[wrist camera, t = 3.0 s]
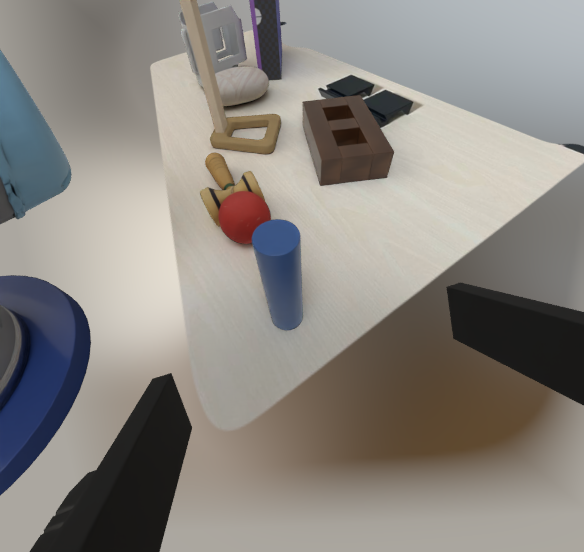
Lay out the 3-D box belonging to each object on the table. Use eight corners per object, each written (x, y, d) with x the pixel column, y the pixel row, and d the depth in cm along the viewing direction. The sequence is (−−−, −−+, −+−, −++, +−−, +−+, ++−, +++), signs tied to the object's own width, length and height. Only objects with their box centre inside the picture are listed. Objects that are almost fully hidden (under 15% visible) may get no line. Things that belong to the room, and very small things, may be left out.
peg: (273, 332, 27) (252, 258, 17) (270, 304, 28) (250, 222, 18) (305, 328, 27) (303, 252, 17) (300, 299, 28) (296, 216, 18)
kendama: (191, 188, 42) (220, 260, 30) (182, 145, 37) (211, 211, 26) (240, 181, 44) (283, 246, 33) (237, 140, 40) (285, 198, 28)
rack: (320, 185, 39) (321, 160, 35) (302, 126, 48) (302, 101, 45) (386, 177, 39) (394, 151, 36) (356, 119, 48) (360, 95, 45)
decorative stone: (263, 85, 58) (259, 57, 54) (276, 103, 53) (273, 73, 49) (204, 98, 56) (196, 69, 52) (213, 117, 51) (204, 88, 47)
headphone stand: (273, 154, 43) (248, -64, 25) (208, 153, 44) (138, -57, 26) (281, 121, 49) (266, -77, 31) (223, 121, 50) (175, -71, 32)
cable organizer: (251, 76, 61) (241, 2, 51) (207, 96, 56) (186, 19, 46) (233, 69, 64) (219, -2, 54) (189, 88, 59) (165, 13, 49)
